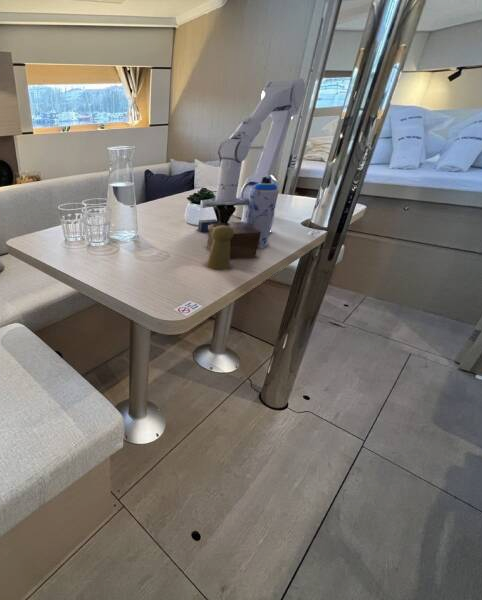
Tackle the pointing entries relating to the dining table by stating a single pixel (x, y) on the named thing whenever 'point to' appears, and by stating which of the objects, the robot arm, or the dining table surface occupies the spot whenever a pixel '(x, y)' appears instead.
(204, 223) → the dark blue-grey block
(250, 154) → the cylinder vase
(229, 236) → the cork
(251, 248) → the cabinet
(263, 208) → the aerosol can
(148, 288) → the dining table surface
